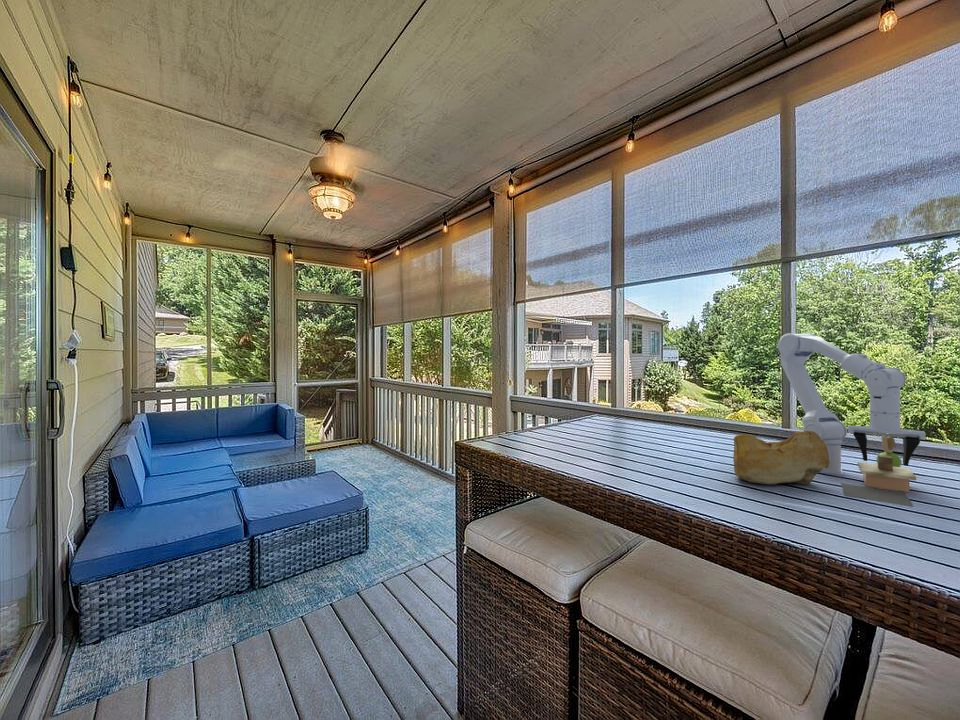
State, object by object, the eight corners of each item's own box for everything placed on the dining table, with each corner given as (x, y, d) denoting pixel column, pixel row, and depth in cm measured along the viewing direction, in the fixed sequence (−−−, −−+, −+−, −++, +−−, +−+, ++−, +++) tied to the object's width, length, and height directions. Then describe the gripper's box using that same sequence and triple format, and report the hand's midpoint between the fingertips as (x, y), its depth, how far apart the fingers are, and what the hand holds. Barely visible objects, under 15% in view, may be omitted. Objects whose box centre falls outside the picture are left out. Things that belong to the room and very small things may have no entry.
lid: (861, 473, 106) (861, 457, 106) (857, 465, 114) (857, 450, 113) (916, 480, 99) (916, 463, 99) (908, 471, 107) (908, 455, 107)
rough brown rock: (802, 475, 120) (798, 426, 121) (839, 489, 104) (834, 432, 105) (719, 474, 125) (715, 427, 126) (742, 487, 108) (738, 432, 110)
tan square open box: (866, 487, 106) (866, 472, 106) (862, 480, 112) (862, 466, 112) (909, 493, 101) (909, 478, 101) (903, 485, 107) (903, 471, 107)
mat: (844, 497, 99) (844, 495, 99) (841, 484, 109) (841, 483, 109) (914, 508, 92) (914, 506, 92) (904, 494, 101) (904, 492, 101)
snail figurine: (871, 469, 123) (871, 430, 123) (881, 466, 125) (881, 429, 125) (895, 473, 118) (895, 434, 118) (905, 470, 121) (905, 432, 120)
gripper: (849, 412, 108) (849, 461, 108) (928, 416, 99) (928, 470, 99) (847, 409, 114) (847, 456, 114) (922, 413, 104) (922, 464, 104)
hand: (884, 462), depth 107 cm, fingers open, 7 cm apart
